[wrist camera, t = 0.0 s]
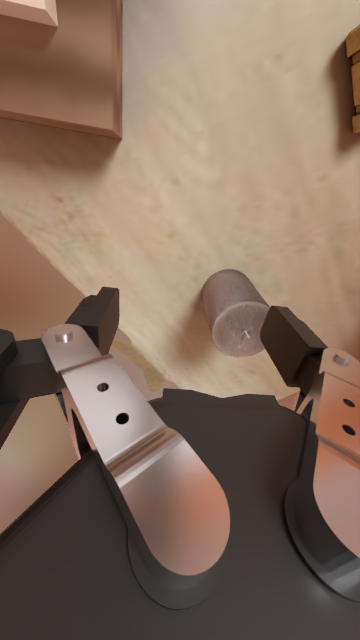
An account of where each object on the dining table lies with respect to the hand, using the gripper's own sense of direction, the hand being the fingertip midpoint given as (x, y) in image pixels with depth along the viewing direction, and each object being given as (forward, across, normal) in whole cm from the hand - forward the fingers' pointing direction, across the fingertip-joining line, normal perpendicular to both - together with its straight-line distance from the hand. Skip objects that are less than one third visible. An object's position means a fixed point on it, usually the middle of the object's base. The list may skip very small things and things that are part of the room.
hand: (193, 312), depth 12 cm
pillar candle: (+30, -11, +11) cm, 33 cm away
